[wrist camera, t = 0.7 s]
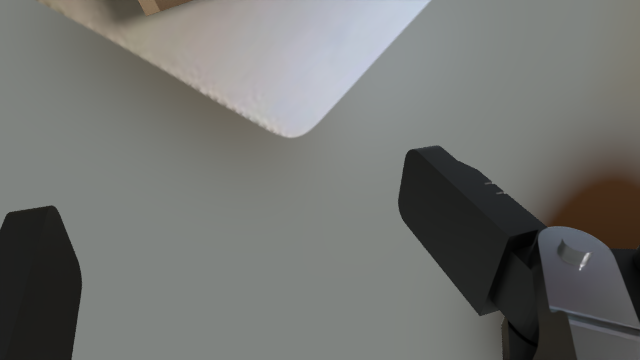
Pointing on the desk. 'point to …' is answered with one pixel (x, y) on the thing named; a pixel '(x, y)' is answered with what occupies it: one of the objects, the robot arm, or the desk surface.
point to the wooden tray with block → (159, 5)
